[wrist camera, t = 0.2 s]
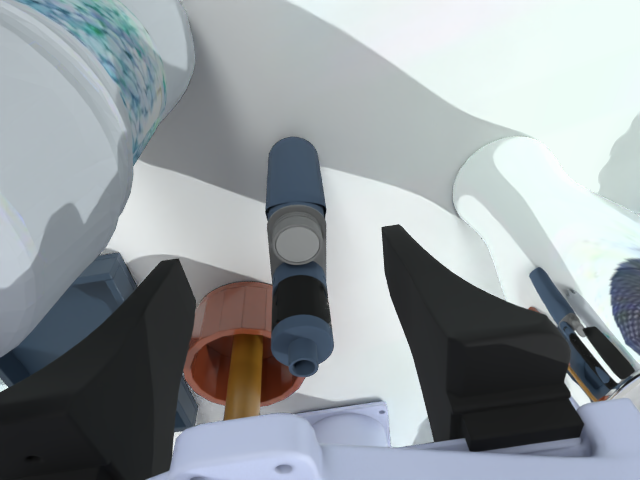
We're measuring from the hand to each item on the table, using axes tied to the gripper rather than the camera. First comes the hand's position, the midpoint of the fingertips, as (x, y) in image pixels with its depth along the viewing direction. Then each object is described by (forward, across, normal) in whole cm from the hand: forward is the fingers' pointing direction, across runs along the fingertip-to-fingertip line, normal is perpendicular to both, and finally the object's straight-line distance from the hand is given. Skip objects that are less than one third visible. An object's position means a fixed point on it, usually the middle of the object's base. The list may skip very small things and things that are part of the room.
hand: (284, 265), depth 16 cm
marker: (+10, +5, +12) cm, 16 cm away
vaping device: (+7, -1, +2) cm, 8 cm away
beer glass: (+10, -12, +4) cm, 16 cm away
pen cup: (+10, +5, +12) cm, 17 cm away
